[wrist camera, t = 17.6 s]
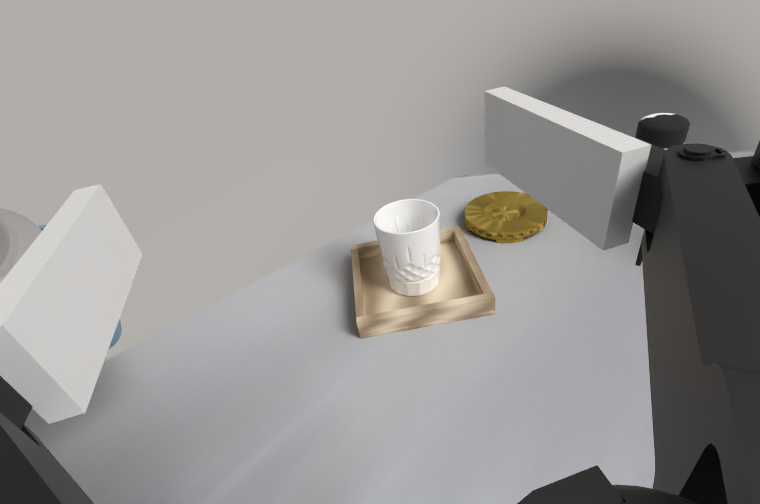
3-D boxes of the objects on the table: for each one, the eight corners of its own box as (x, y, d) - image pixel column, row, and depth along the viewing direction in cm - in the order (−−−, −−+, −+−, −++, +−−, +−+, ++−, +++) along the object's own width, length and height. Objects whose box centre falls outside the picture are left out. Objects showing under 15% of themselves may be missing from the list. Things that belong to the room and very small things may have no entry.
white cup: (426, 255, 59) (420, 192, 53) (456, 285, 53) (452, 218, 47) (375, 274, 57) (363, 211, 51) (400, 308, 51) (388, 241, 45)
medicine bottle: (684, 202, 61) (708, 122, 54) (633, 209, 62) (651, 130, 55) (657, 181, 67) (677, 106, 60) (611, 187, 67) (625, 113, 60)
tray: (360, 338, 49) (356, 323, 47) (353, 259, 62) (350, 245, 60) (494, 313, 49) (495, 297, 47) (459, 239, 62) (458, 225, 60)
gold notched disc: (562, 217, 63) (563, 205, 62) (514, 255, 57) (515, 242, 56) (496, 196, 71) (496, 184, 70) (449, 227, 66) (448, 215, 64)
